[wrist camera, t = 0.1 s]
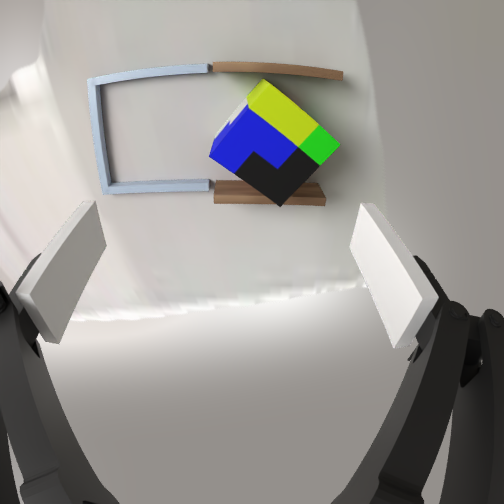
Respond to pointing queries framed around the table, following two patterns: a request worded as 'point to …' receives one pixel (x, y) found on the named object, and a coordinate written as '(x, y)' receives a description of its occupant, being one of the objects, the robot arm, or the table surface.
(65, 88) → the table surface
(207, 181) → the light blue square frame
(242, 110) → the puzzle toy
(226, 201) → the channel
